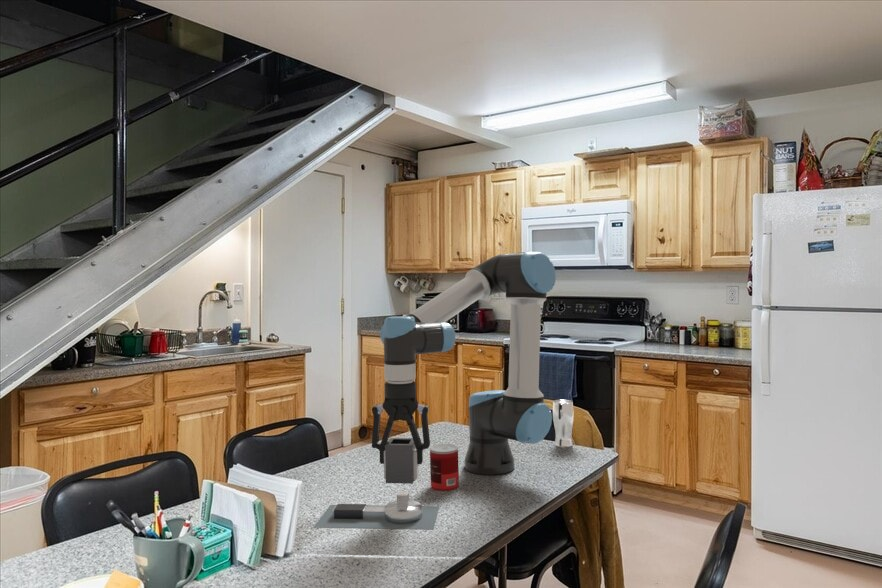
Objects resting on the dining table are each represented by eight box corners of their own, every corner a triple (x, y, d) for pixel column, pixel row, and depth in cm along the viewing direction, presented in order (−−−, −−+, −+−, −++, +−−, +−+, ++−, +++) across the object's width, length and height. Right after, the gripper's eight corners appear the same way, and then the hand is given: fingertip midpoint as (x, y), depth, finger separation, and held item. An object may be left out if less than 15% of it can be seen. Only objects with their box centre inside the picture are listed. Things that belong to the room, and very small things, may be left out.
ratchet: (424, 509, 146) (423, 487, 146) (419, 524, 137) (419, 500, 137) (339, 508, 148) (338, 486, 148) (328, 523, 139) (328, 499, 139)
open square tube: (416, 475, 145) (416, 438, 145) (412, 483, 138) (412, 445, 138) (390, 474, 145) (390, 438, 145) (385, 483, 139) (385, 444, 139)
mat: (439, 507, 148) (439, 506, 148) (433, 531, 134) (433, 529, 134) (330, 506, 151) (330, 504, 151) (313, 529, 137) (313, 527, 137)
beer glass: (576, 447, 199) (575, 403, 199) (555, 448, 199) (554, 403, 199) (571, 442, 206) (571, 399, 206) (551, 442, 206) (550, 399, 206)
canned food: (462, 483, 166) (461, 444, 166) (453, 493, 158) (452, 452, 158) (436, 481, 168) (435, 442, 168) (426, 490, 161) (425, 450, 161)
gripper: (441, 378, 144) (443, 473, 145) (363, 378, 146) (365, 471, 146) (438, 383, 137) (440, 483, 137) (356, 383, 139) (358, 481, 139)
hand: (401, 477), depth 142 cm, fingers closed on open square tube, 6 cm apart
